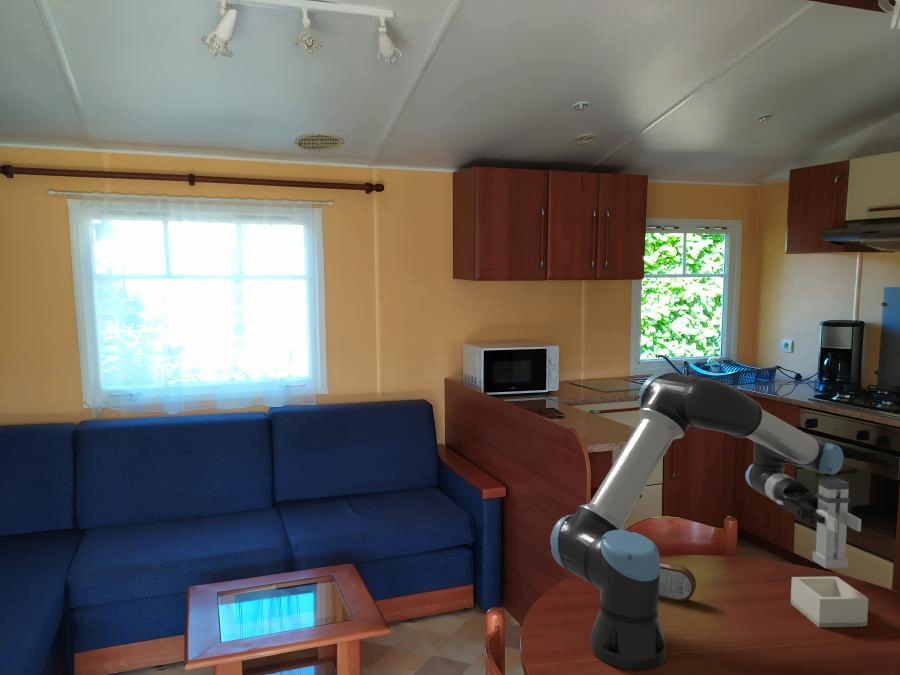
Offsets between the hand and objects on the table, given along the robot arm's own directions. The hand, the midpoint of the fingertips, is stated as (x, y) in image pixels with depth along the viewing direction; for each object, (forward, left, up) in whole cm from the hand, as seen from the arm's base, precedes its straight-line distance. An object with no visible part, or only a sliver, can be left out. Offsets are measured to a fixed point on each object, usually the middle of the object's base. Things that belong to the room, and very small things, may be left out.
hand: (847, 525), depth 141 cm
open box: (0, +5, -23) cm, 24 cm away
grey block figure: (0, +5, -11) cm, 12 cm away
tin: (-35, +15, -23) cm, 45 cm away
